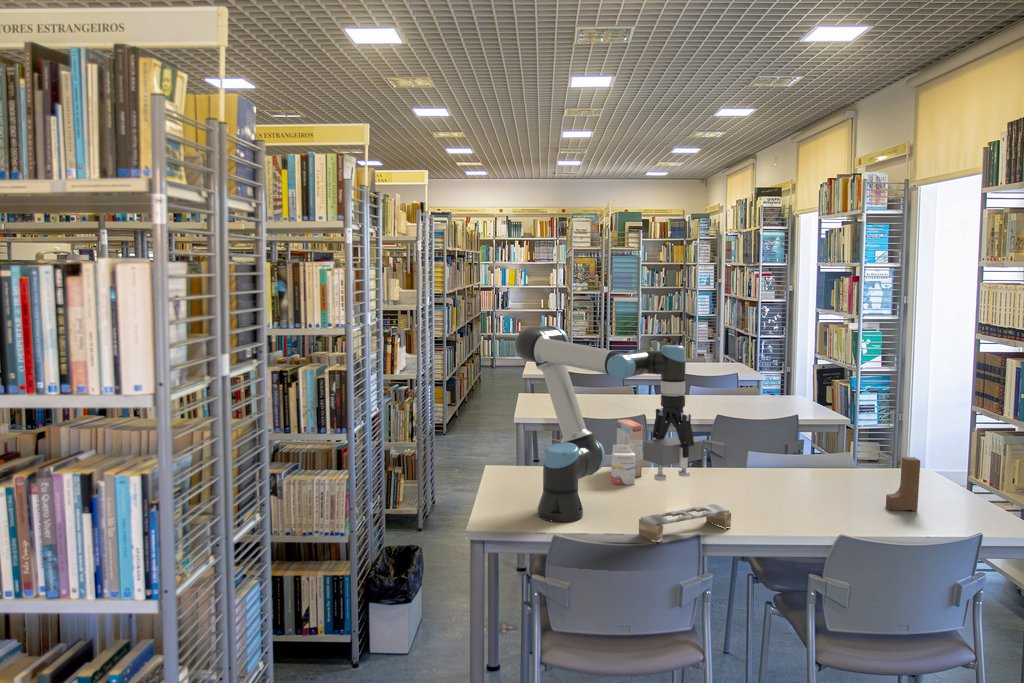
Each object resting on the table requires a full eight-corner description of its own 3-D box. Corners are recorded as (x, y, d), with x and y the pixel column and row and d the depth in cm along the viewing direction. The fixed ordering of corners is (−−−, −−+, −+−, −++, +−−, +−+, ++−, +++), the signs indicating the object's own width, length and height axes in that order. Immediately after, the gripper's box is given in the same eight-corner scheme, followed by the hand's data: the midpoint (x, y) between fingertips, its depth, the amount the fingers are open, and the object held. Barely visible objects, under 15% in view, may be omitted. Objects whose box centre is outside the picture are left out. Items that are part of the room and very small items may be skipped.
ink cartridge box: (612, 485, 287) (613, 447, 285) (610, 481, 292) (611, 444, 290) (635, 485, 287) (636, 447, 286) (632, 481, 292) (633, 444, 290)
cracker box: (642, 477, 298) (643, 425, 296) (628, 478, 297) (629, 425, 295) (629, 468, 311) (630, 418, 310) (615, 468, 310) (616, 419, 308)
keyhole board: (656, 543, 225) (656, 524, 224) (638, 534, 232) (639, 516, 232) (730, 528, 239) (731, 510, 238) (712, 520, 246) (712, 503, 246)
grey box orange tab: (662, 484, 231) (663, 444, 230) (643, 477, 239) (643, 439, 238) (701, 477, 239) (702, 438, 238) (681, 470, 247) (681, 433, 246)
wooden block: (890, 510, 259) (893, 459, 257) (885, 506, 263) (888, 456, 261) (917, 511, 258) (920, 460, 256) (911, 507, 262) (914, 457, 261)
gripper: (707, 397, 229) (706, 469, 231) (659, 389, 248) (658, 455, 250) (688, 399, 225) (687, 473, 227) (641, 390, 245) (640, 458, 246)
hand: (672, 464), depth 239 cm, fingers closed on grey box orange tab, 9 cm apart
